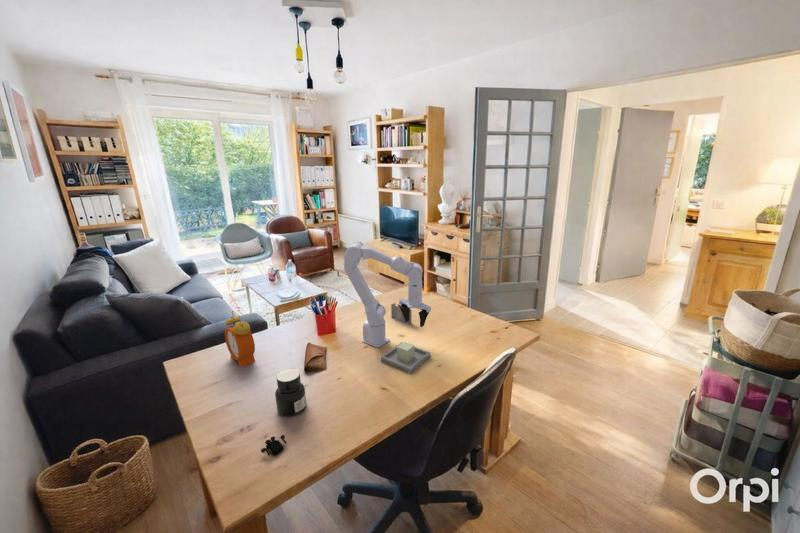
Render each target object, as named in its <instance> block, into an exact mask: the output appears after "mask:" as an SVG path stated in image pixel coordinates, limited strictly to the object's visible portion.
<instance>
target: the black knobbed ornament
mask: <svg viewBox="0 0 800 533" xmlns="http://www.w3.org/2000/svg"><path fill="white" fill-rule="evenodd" d="M285 438H286V436H285V435H284V434H282V435H280V439H281V440H282V442H283V443H284V444H285V445H287V444H288V442H287V441H286V440H285ZM282 442H281V441H280V440H276V437H275V436H274V435H273V436H271V437H270V439H267V440H265V442H264V443H265V445H266V446H265V447H263V448H261V449H260V452H261V453H262V454H264V453H267V454H268V455H269V456H271V455H273V456H277V455H278V454H280V453H281V452H282V451H284V449H285V448H284V445H283V444H282Z"/></svg>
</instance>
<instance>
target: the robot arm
mask: <svg viewBox="0 0 800 533" xmlns="http://www.w3.org/2000/svg"><path fill="white" fill-rule="evenodd" d="M343 259H344V260H343V262H344V263H343V265H344V266H343V268H344V269H343V270H344V271H345V274H346V275H347V277H348V279H349V281H350V283H351V284H352V286H353V288H354V290H355V292H356V293H357V295H358V297H359V299H360V300H361V302H362V304H363V306H364V312H365V314H366V320H365V321H364V322H363V326H362V340H361V342H363V343H364V344H365V343H366V344H368V345H371V346H373V347H376V348H380V347H382V346H384V345H385V344H387V343H389V341H390V340H391V339H390V338H387V337H386V320H385V319H384V317H385V315H386V308H385V306H383V305H382V304H381V303H380V301H379V300H378V299H376V298H375V296H374V295H373V293H372V290H371V289H370V287H369V284H368V283H367V281H366V280H365V278H364V276H363V274H362V273H361V271H360V269H359V265H360V261H361V260H362V261H365V260H368V259H373V260H374V261H377V262H380V263H382V264H385V265H387V266H389V268H390V270H392V271H394V272H396V273H399V274H401V275H403V276H407V279H408V282H407V299H405V298H401V299H399V300H398V302H399V303H398V304H399V305H401V306H400V310H401V311H402V313H403V316H404V319H405V322H408V321H409V318H410V310H411V309H417V310H420V311H419V312H418V315H419V326H420V327H421V328H423V327H424V326H425V323H426V320H427V317H428V315H429V314H430V312H432V306H430V305H428V304H426V303H424V302H423V270H424V269H423V267H422V265H421V264H419V263H418V262H414V261H409V260H406V259H404V257H403V256H401V255H400V256H397V255H396V256H393V257H392V256H390V255H388V254H386V253H384V252H382V251H381V250H378V249H376V248H374V247H373V246H371V245H369V244H367V243H363V242H362V241H355V242H353V243H352V244H351V245H350V246H349V247H347V249H346V250H345V252H344V254H343Z"/></svg>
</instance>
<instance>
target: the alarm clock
mask: <svg viewBox="0 0 800 533" xmlns="http://www.w3.org/2000/svg"><path fill="white" fill-rule="evenodd" d="M234 313H235V314H236V315H238V316H234ZM231 314H232V316H230V318H229V319H227V320H226V321H225V324H224V325H225V326H229V325H231V326H229V327H226V328H225V331H224V340H225V344H226V346H227V349H228V352H229V354H230V358H231V359H232V360H235V361H237V363H238V365H239V366H240V367H241V368H243V367H245V366H248V365H250V364H252V363H255V362H256V359H255V356H254V354H255V351H256V343H255V340H254V337H253V334H252V331H251V326H250V324H249V323H248V322H246V321H242V319H241V315H240V314H239V313H238V312H236V311H234V310H232V311H231Z"/></svg>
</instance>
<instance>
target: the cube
mask: <svg viewBox="0 0 800 533" xmlns="http://www.w3.org/2000/svg"><path fill="white" fill-rule="evenodd" d="M400 343H401V342H400ZM400 343H399V344H400ZM396 346H397V345H396ZM415 347H416V346H415V344H412V343H409V342H407V341H403V343H401V344H400V345H399V346H397V358H398V359H400V360H403V361H405V362H408V361H410V360H411V359H412V358H413V357H415Z"/></svg>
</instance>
